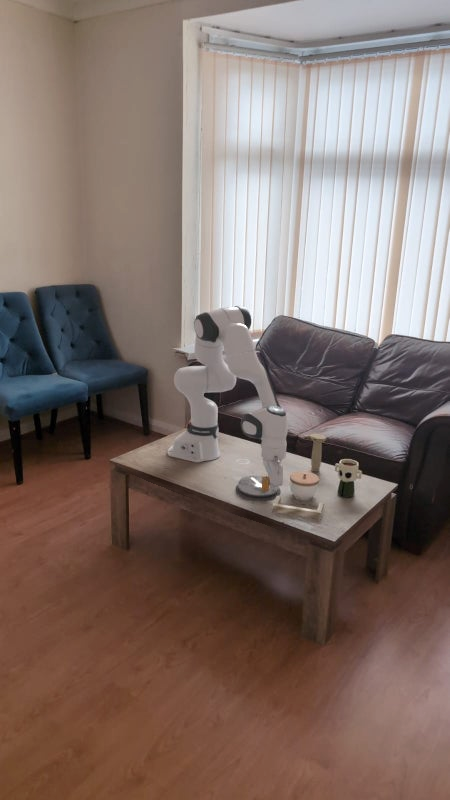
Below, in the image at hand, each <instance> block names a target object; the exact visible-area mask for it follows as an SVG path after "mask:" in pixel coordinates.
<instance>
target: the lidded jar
mask: <svg viewBox="0 0 450 800" xmlns="http://www.w3.org/2000/svg"><path fill="white" fill-rule="evenodd" d="M319 482H320V477H319V476H318V475H317V474H315V473H313V472H311V471H310V472H309V471H296V472H292V473H291V474H290V475H289V487H290V491H291V493H292V494H293V496H294V497H295V498H296V500H297V499H298V500H300V501H301V500H302V501H308V500H311V499H312V497H314V496H315V494H317V492H318V489H319Z"/></svg>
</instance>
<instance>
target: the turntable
mask: <svg viewBox="0 0 450 800" xmlns="http://www.w3.org/2000/svg"><path fill="white" fill-rule="evenodd" d="M237 483H238V484H237V485H238V490H239V491H240V492H241V493H242V494H244V495H246V496H250V497H255V498H266V497H271V496H273V495H275V494H276V493H277V492H278V487H279V486H275V489H271V488H270V485H269V478H268V475H266V476H265V475H248V476H245V477H242V478H240V479H239V480H238V482H237Z"/></svg>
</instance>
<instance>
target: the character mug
mask: <svg viewBox="0 0 450 800" xmlns="http://www.w3.org/2000/svg"><path fill="white" fill-rule="evenodd" d="M338 462H339V463H335V465H334V471H335V472H336V473H337V476H338V478H339V483H338V488H337V494H338V496H342V497H346V498H349V497H350V498H351V497H353V496H354V495H355V489H356V488H355V482H354V481H356V480H357V479H358V480H361V479H362V475H363V471H362V470H360V469H359V466H360V465H359V462H358V461H357V460H354V459H351V458H344V459H343V458H342V459H340V461H338Z"/></svg>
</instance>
